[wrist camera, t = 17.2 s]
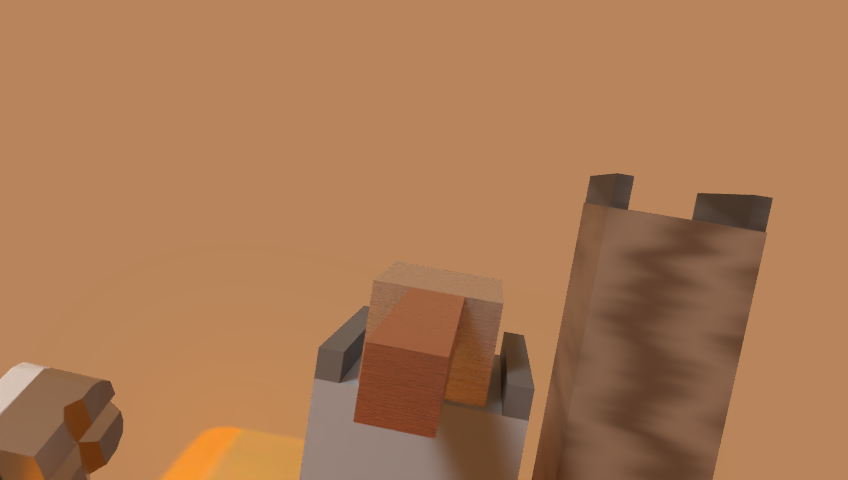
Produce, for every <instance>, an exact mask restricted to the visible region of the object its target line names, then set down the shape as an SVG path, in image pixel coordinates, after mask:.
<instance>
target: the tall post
mask: <svg viewBox="0 0 848 480" xmlns="http://www.w3.org/2000/svg"><path fill="white" fill-rule="evenodd" d="M633 180H634V176H630V175H624V174H607V175H597V176H591V177H590V182H589V187H588V192H587V197H586V203H584V206H583V211H582V216H581V222H580V227H579V232H578V238H577V243H576V248H575V253H574V259H573V264H572V269H571V275H570V280H569V285H568V290H567V296H566V302H565V306H564V312H563V317H562V323H561V328H560V333H559V338H558V343H557V349H556V354H555V359H554V365H553V370H552V375H551V380H550V386H549V391H548V397H547V402H546V407H545V412H544V418H543V423H542V428H541V433H540V439H539V444H538V449H537V455H536V460H535V465H534V470H533V476H532V480H712V479H713V475H714V470H715V465H716V461H717V456H718V451H719V447H720V443H721V438H722V434H723V429H724V425H725V420H726V416H727V411H728V407H729V402H730V398H731V393H732V388H733V384H734V380H735V375H736V370H737V366H738V362H739V357H740V352H741V348H742V343H743V339H744V334H745V329H746V325H747V321H748V316H749V312H750V307H751V303H752V298H753V294H754V289H755V285H756V280H757V276H758V271H759V266H760V262H761V257H762V253H763V248H764V244H765V239H766V235H767V233H766V232H765V231H766V226H767V222H768V217H769V213H770V208H771V204H772V199H773V198H769V197H763V196H756V195H736V194H707V193H698V194H697V199H696V204H695V208H694V213H693V218H692V220H689V219H682V218H676V217H670V216H664V215H658V214H652V213H645V212H639V211H633V210H628V205H629V200H630V195H631V190H632V185H633Z"/></svg>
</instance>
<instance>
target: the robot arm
mask: <svg viewBox="0 0 848 480" xmlns="http://www.w3.org/2000/svg"><path fill="white" fill-rule="evenodd" d="M114 395H115V392H114V390H113V387H112V385H111V382H110V381H107V380H103V379H98V378H94V377H89V376H84V375H80V374H76V373H72V372H67V371H62V370H58V369H54V368H51V367H46V366H41V365H36V364H32V363H27V362H23V363H20V364H19V365H16V366H14V367H12V368H11V369H10V370H9V371H8V372H7V373H6V374H5V375H4V376H3V377H2V378H1V379H0V480H90V474H91V473H92V472H94V471H96V470H98V469H99V468H101V467H103V466H104V465H106V464H107V463H108V461H109V460H110V458H111V457H112V455H113V454H114V452H115V451H116V449H117V447H118V444H119V441H120V438H121V436H122V433H123V418H122V415H121V411H120V410H119V409H118V408H117V407H115V405H114V404H112V403H111V401H110V400H111V399H112V397H113V396H114Z"/></svg>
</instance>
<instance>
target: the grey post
mask: <svg viewBox="0 0 848 480" xmlns="http://www.w3.org/2000/svg"><path fill="white" fill-rule="evenodd" d="M368 313H369V307H368V306H363V307H362V308H361V309H360V310H359V311H358V312H357V313H356V314H355V315H354V316H352V317H351V318H350V319H349V320H348V321H347V322H346V323H345V324H344V325H343V326H342V327H340V328H339V329H338V330H337V331H336V332H335V333H334V334H333V335H332V336H331V337H330V338H328V339H327V340H326V341H325V342H324V343H323V344H322V345H321V346H320V347H319V350H318V357H317V365H316V370H315V377H314V385H313V392H312V398H311V404H310V411H309V418H308V425H307V432H306V438H305V445H304V452H303V459H302V465H301V472H300V479H299V480H518V474H519V469H520V463H521V458H522V453H523V448H524V442H525V437H526V431H527V425H528V421H529V415H530V410H531V405H532V399H533V394H534V384H533V379H532V374H531V369H530V365H529V359H528V354H527V349H526V344H525V339H524V336H523V335H519V334H513V333H507V332H504V337H503V342H502V347H501V353H500V355H495V354H494V359H493V365H492V370H491V376H490V382H489V387H488V393H487V398H486V404H485V410H484V409H479V408H474V407H469V406H464V405H459V404H454V403H449V402H444V403H443V407H442V411H441V415H440V420H439V424H438V428H437V433H436V437H435V439H434V438H429V437H424V436H419V435H414V434H409V433H404V432H399V431H395V430H390V429H385V428H380V427H375V426H370V425H365V424H360V423H355V422H353V420H354V413H355V407H356V400H357V394H358V388H359V385H358V378H359V371H360V365H361V358H362V352H363V345H364V339H365V332H366V326H367V320H368Z"/></svg>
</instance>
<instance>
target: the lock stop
mask: <svg viewBox="0 0 848 480" xmlns="http://www.w3.org/2000/svg"><path fill="white" fill-rule="evenodd" d="M502 309H503V292H502V281H501V280H498V279H492V278H486V277H481V276H475V275H470V274H464V273H458V272H453V271H447V270H441V269H436V268H430V267H424V266H418V265H413V264H407V263H402V262H396V263H395V264H394V265H392V266H391V267H390V268H389V269H387V270H386V271H385V272H384V273H382V274H381V275H380V276H378V277H377V278H376V279H374V281H373V287H372V294H371V300H370V307H369V313H368V320H367V326H366V332H365V339H364V345H363V352H362V358H361V365H360V371H359V378H358V385H359V388H358V394H357V400H356V407H355V413H354V420H353V422H355V423H360V424H365V425H370V426H375V427H380V428H385V429H390V430H395V431H399V432H404V433H409V434H414V435H419V436H424V437H429V438H434V439H435V437H436V433H437V428H438V424H439V420H440V415H441V411H442V407H443V403H444V402H449V403H454V404H459V405H464V406H469V407H474V408H479V409H484V410H485V404H486V398H487V393H488V387H489V382H490V376H491V370H492V365H493V359H494V353H495V348H496V342H497V337H498V331H499V326H500V320H501V314H502Z"/></svg>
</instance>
